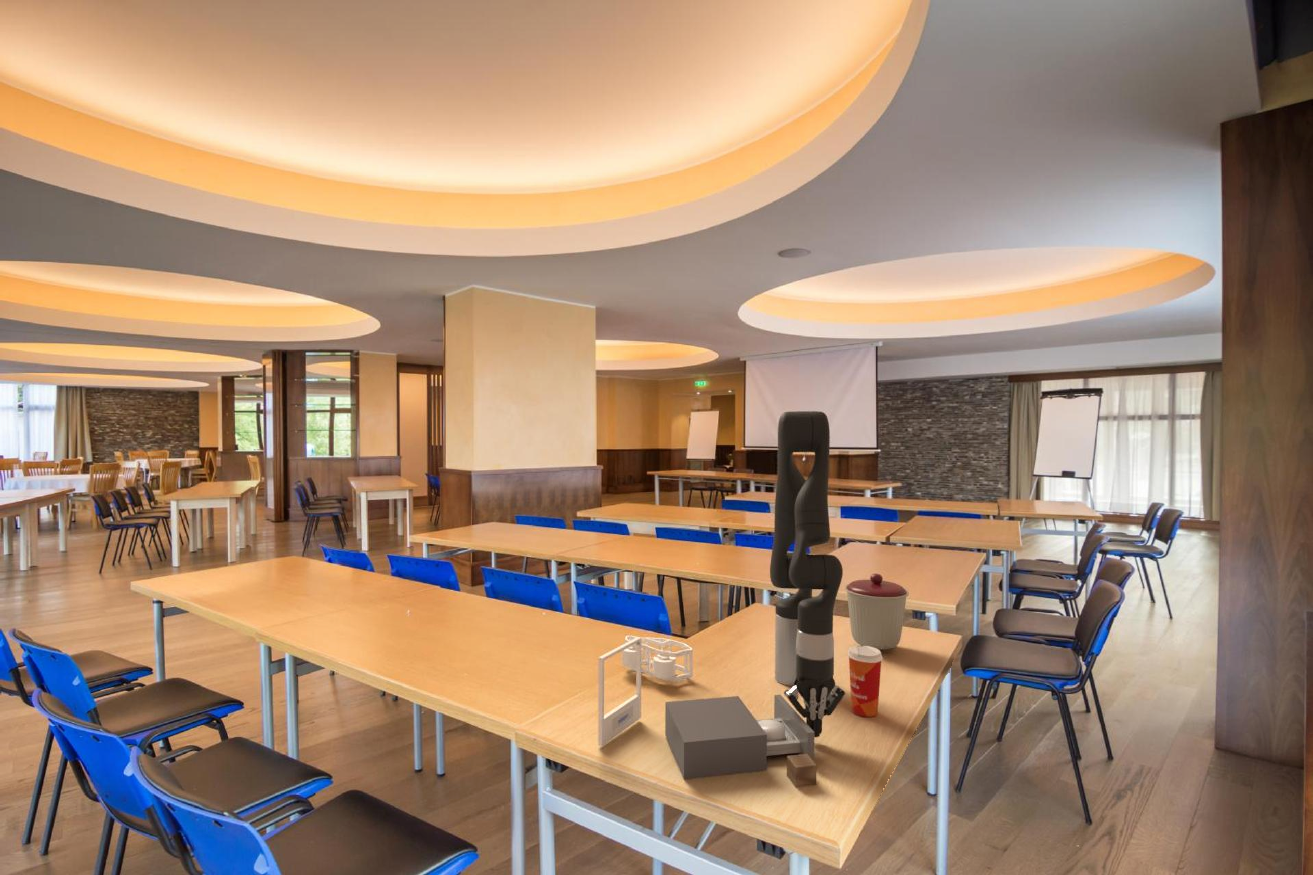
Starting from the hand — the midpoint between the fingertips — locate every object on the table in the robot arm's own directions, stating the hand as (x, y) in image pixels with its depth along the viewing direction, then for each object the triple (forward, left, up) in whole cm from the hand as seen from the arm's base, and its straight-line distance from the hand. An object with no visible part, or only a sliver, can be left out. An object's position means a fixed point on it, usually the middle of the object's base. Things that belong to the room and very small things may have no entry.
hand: (814, 735), depth 128 cm
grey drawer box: (+21, 0, -2) cm, 22 cm away
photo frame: (+38, -12, -2) cm, 40 cm away
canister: (-44, -51, -2) cm, 67 cm away
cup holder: (+25, -43, -2) cm, 50 cm away
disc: (+9, 0, +1) cm, 10 cm away
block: (+8, +13, -2) cm, 16 cm away
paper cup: (-18, -11, -2) cm, 21 cm away
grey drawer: (+13, 0, -2) cm, 14 cm away
